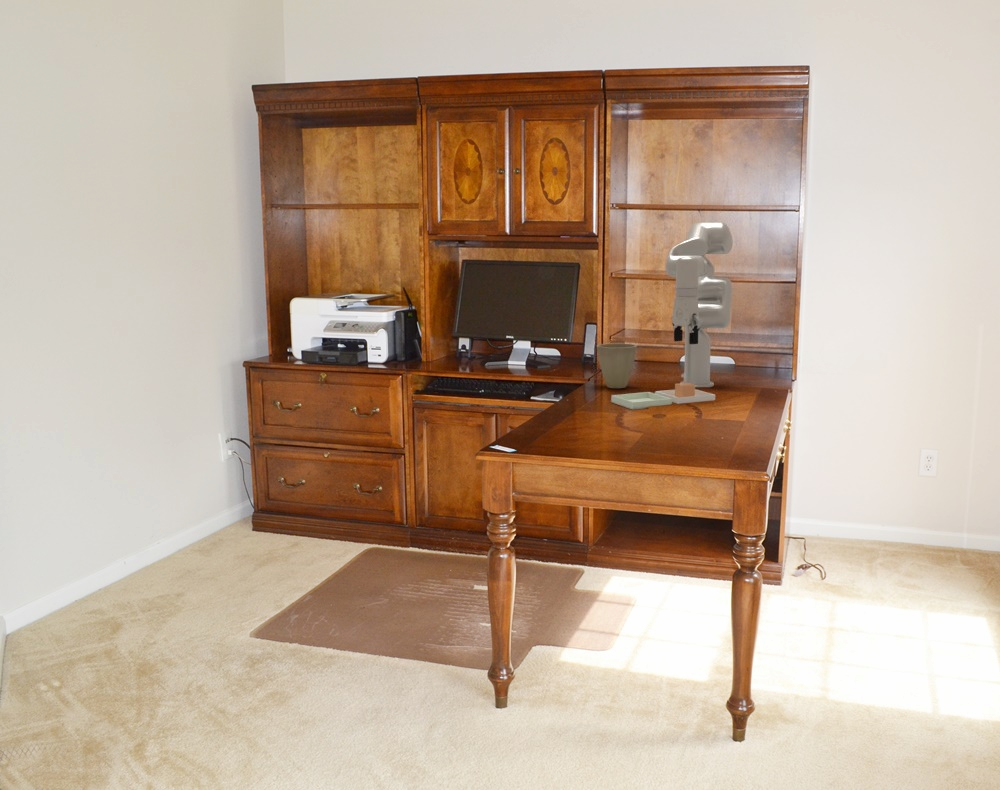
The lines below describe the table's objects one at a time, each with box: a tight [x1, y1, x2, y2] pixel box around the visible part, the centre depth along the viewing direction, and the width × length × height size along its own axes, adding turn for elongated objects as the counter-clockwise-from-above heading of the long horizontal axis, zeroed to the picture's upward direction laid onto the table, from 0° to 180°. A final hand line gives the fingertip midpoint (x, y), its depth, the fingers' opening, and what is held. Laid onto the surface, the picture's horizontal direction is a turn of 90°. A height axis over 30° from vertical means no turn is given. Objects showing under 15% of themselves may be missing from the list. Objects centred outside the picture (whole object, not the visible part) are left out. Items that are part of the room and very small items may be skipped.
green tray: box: [610, 391, 673, 410], centre depth 327 cm, size 15×15×2 cm
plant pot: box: [596, 342, 638, 389], centre depth 361 cm, size 15×15×16 cm
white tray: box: [654, 388, 716, 405], centre depth 333 cm, size 15×15×2 cm
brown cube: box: [674, 383, 696, 398], centre depth 333 cm, size 5×5×5 cm
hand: (685, 342), depth 330 cm, fingers open, 9 cm apart
